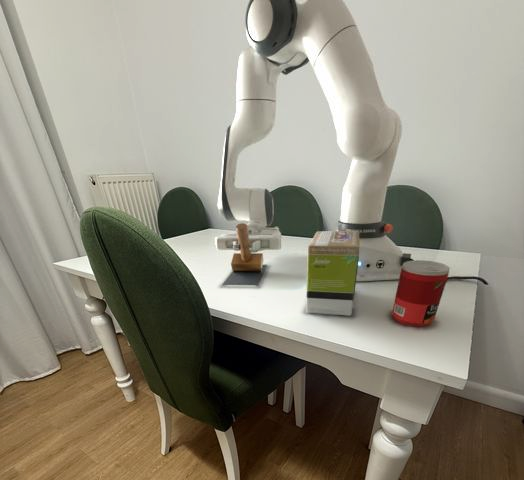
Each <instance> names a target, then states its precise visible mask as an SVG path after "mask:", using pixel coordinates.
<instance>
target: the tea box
mask: <svg viewBox="0 0 524 480" xmlns="http://www.w3.org/2000/svg"><path fill="white" fill-rule="evenodd" d="M359 248H360V245H359V231H337V230H322V231H321V230H317V231H316V232H315V234H314V236H313V237H312V239H311V241H310V242H309V245H308V246H307V264H306V267H307V270H306V298H305V299H306V303H305V308H306V309H305V312H306V313H308V314H317V315H330V316H331V315H333V316H352V312H353V306H354V299H355V292H356V284H357V281H356V277H357V269H358V260H359Z"/></svg>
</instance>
